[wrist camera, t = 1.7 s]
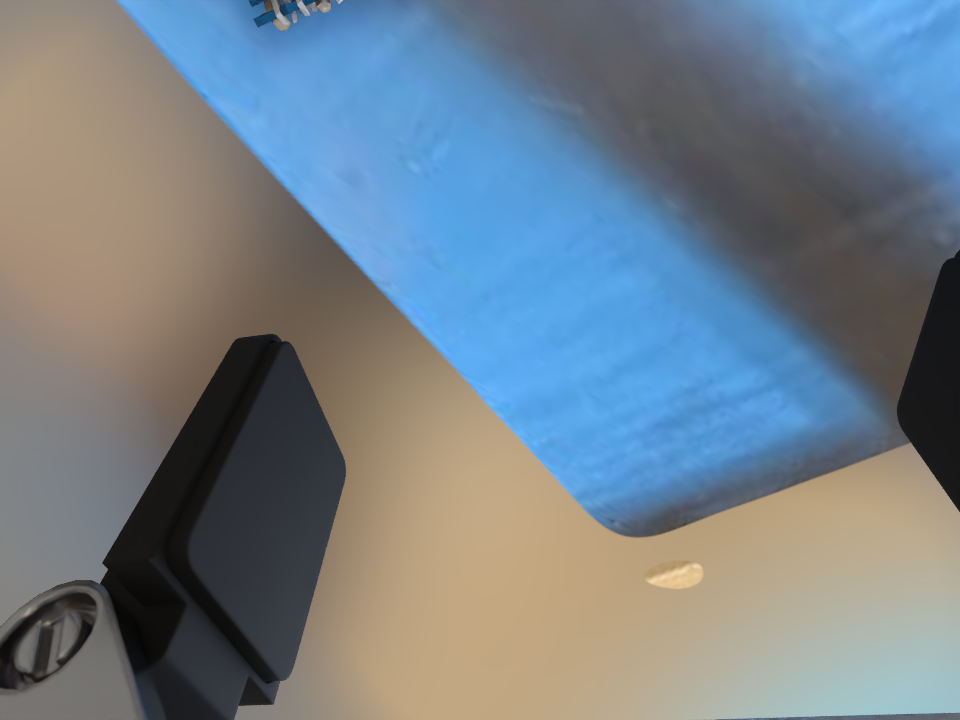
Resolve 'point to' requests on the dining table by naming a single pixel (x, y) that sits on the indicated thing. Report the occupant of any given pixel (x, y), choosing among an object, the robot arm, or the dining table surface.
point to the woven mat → (288, 10)
